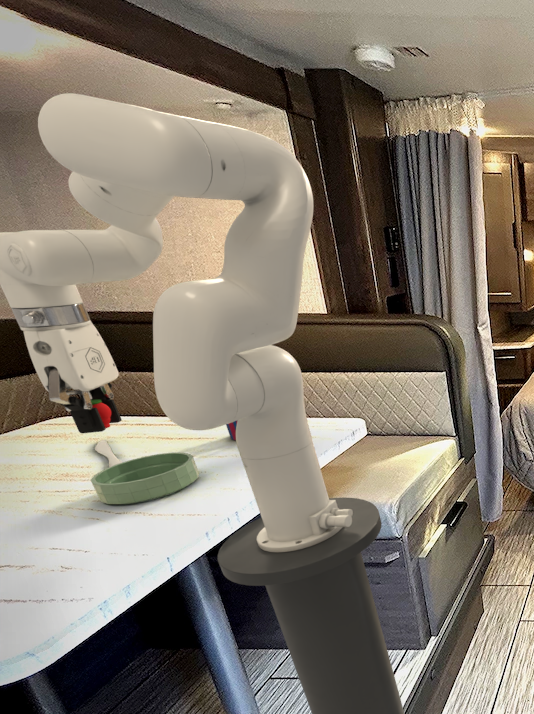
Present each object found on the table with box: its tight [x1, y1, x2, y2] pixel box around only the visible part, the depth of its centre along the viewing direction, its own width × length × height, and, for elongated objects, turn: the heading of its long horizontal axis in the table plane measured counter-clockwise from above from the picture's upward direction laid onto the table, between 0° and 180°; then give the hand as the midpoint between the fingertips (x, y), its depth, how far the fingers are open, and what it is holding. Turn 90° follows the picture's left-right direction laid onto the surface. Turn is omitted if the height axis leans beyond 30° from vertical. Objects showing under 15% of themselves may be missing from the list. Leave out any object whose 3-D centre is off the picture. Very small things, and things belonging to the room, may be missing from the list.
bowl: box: [90, 452, 200, 505], centre depth 96 cm, size 14×14×4 cm
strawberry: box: [91, 399, 111, 429], centre depth 84 cm, size 4×4×5 cm
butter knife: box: [94, 439, 124, 468], centre depth 112 cm, size 1×27×3 cm
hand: (101, 426), depth 84 cm, fingers closed on strawberry, 3 cm apart
